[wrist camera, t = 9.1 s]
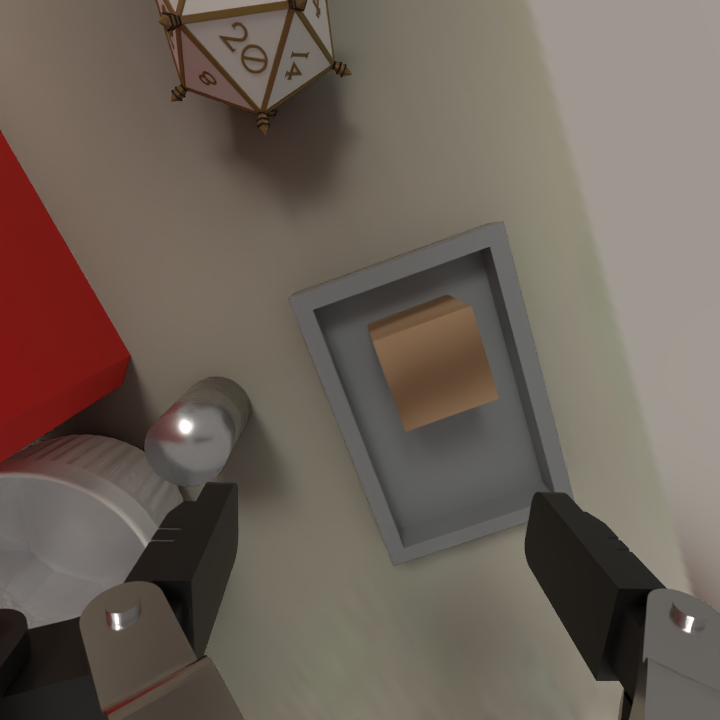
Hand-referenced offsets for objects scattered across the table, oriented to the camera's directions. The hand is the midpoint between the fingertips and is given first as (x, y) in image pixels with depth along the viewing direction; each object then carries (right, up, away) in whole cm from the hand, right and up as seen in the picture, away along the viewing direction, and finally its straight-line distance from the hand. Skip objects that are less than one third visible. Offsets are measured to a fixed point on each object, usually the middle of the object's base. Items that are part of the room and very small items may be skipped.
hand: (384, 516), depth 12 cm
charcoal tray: (+4, +2, +16) cm, 17 cm away
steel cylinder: (-10, +1, +16) cm, 19 cm away
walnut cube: (+3, +5, +15) cm, 16 cm away
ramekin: (-18, -6, +18) cm, 25 cm away
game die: (-6, +20, +11) cm, 24 cm away
